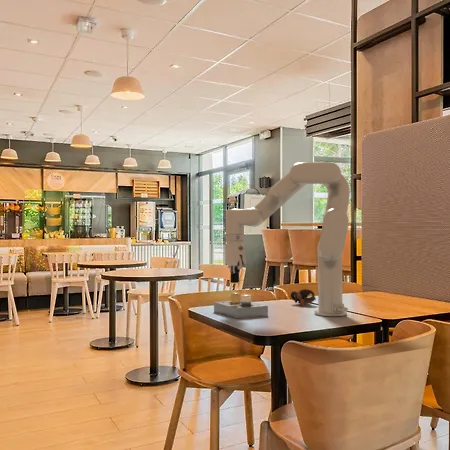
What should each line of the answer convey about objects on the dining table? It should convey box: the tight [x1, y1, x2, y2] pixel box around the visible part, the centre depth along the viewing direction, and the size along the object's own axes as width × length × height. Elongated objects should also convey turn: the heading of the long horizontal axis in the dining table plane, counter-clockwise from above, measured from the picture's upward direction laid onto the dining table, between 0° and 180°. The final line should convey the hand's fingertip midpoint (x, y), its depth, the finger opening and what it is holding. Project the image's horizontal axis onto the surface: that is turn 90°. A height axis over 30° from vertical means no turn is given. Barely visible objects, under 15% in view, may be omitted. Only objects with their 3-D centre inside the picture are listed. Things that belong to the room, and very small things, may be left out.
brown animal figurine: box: [290, 288, 317, 307], centre depth 216 cm, size 12×10×8 cm
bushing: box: [230, 292, 241, 304], centre depth 196 cm, size 4×4×8 cm
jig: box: [213, 294, 269, 320], centre depth 192 cm, size 20×14×8 cm
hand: (234, 282), depth 196 cm, fingers closed
